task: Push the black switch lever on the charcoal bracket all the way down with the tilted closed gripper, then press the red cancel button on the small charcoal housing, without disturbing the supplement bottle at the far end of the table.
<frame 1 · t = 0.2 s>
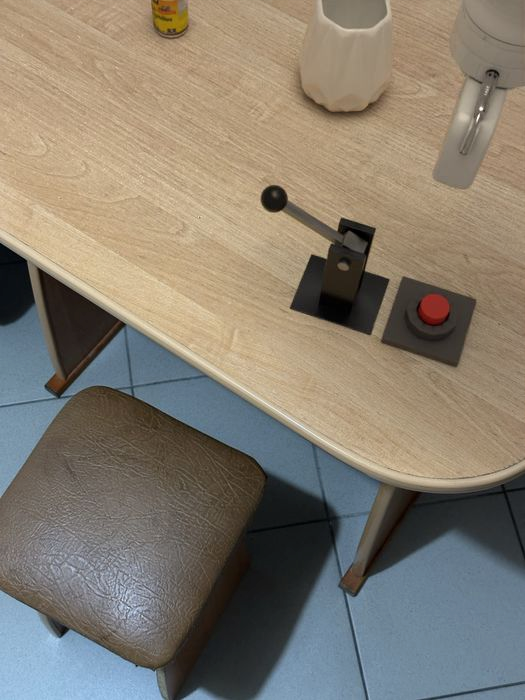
hand: (459, 143, 83), 32 cm above the table, tool pointing down, fingers open, 8 cm apart
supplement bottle: (171, 28, 133), on the table
switch bracket: (339, 298, 111), on the table
vase: (341, 87, 128), on the table
cancel button: (433, 309, 105), point 4 cm above the table, slide at 0.1 cm
switch lever: (312, 222, 99), point 14 cm above the table, hinge at 25.0°
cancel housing: (426, 326, 109), on the table
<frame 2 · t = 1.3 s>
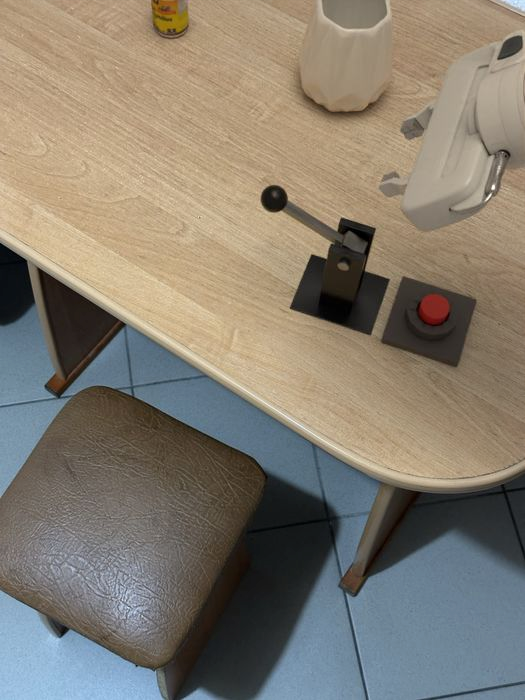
hand: (394, 157, 85), 29 cm above the table, tool tilted 45°, fingers open, 6 cm apart
nothing on the table moved.
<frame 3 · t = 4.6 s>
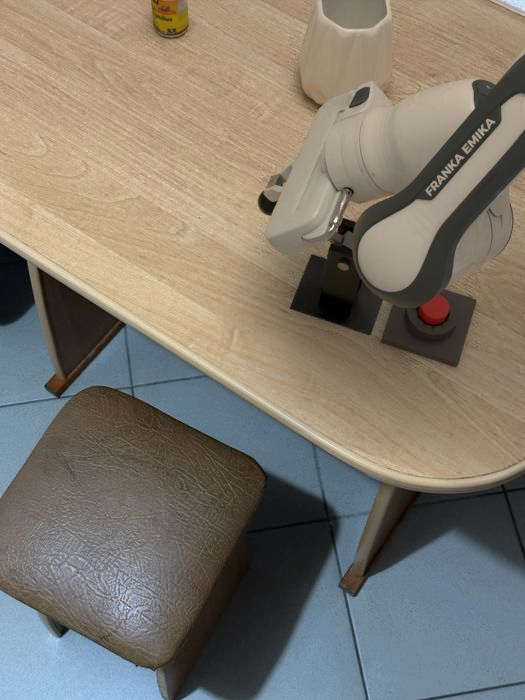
hand: (270, 188, 96), 18 cm above the table, tool tilted 45°, fingers closed
switch lever: (310, 224, 99), point 14 cm above the table, hinge at 20.7°, touching gripper
everything else where it was.
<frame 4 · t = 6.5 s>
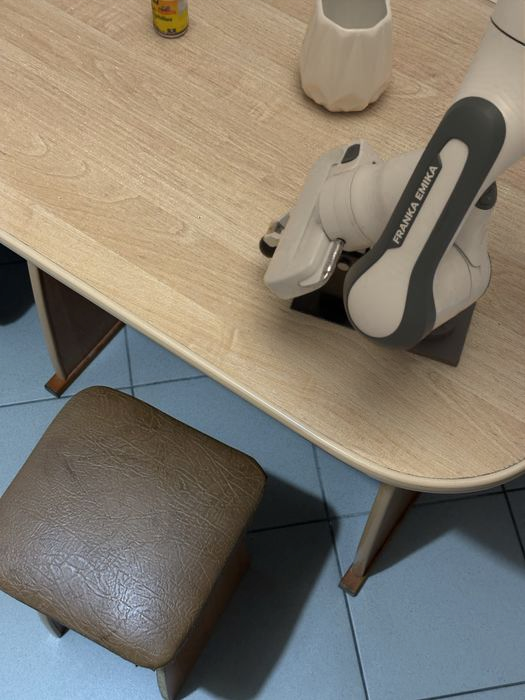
hand: (270, 234, 104), 9 cm above the table, tool tilted 45°, fingers closed, pressing on switch lever
switch lever: (309, 246, 103), point 10 cm above the table, hinge at -26.4°, touching gripper
everything else where it was.
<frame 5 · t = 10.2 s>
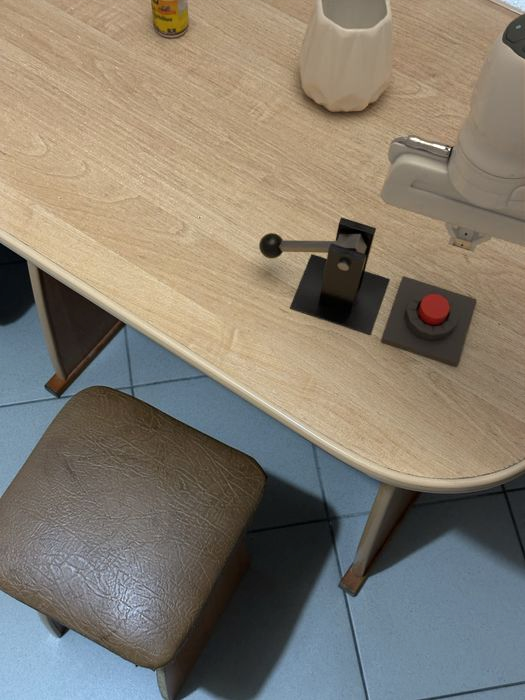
hand: (462, 243, 93), 19 cm above the table, tool pointing down, fingers closed
switch lever: (309, 246, 103), point 9 cm above the table, hinge at -26.8°
everything else where it was.
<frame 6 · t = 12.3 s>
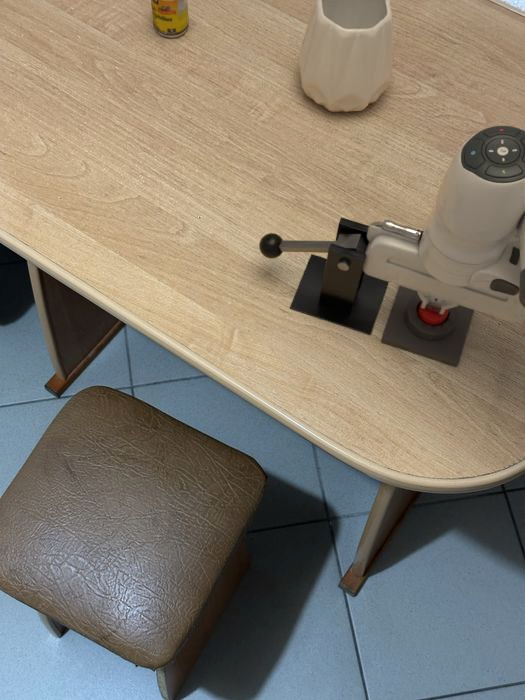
hand: (433, 306, 105), 5 cm above the table, tool pointing down, fingers closed, pressing on cancel button
cancel button: (433, 311, 106), point 4 cm above the table, slide at -0.3 cm, touching gripper
everything else where it was.
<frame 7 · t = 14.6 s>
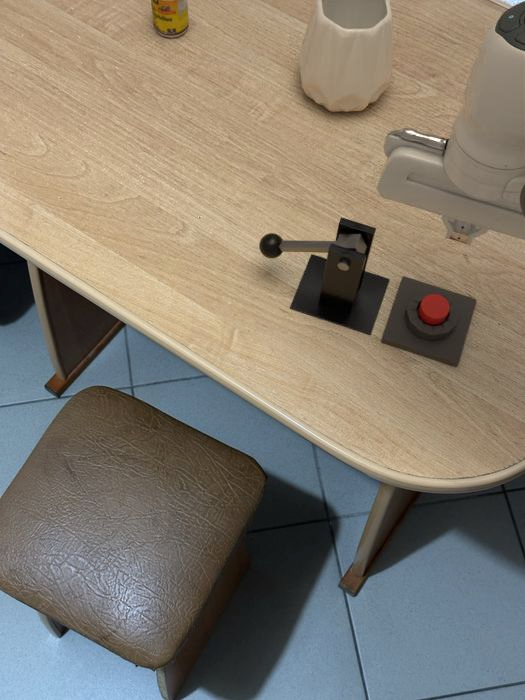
hand: (458, 236, 93), 19 cm above the table, tool pointing down, fingers closed
cancel button: (433, 309, 105), point 4 cm above the table, slide at 0.1 cm
everything else where it was.
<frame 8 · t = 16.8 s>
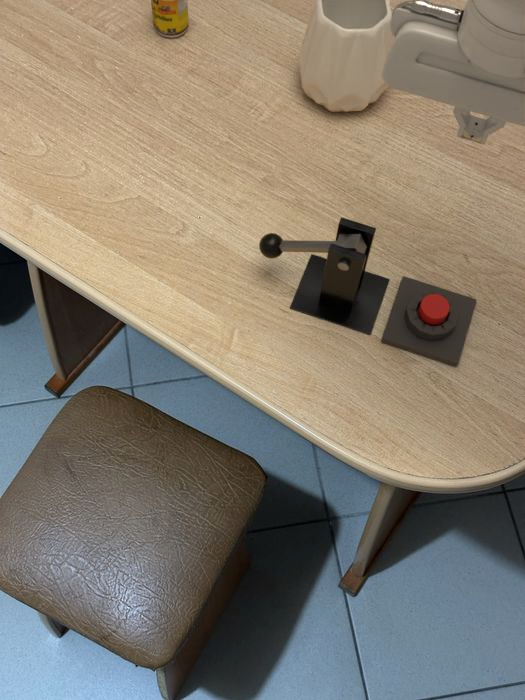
hand: (471, 136, 84), 31 cm above the table, tool pointing down, fingers closed
nothing on the table moved.
at the end: switch lever at -27° (first picture: +25°); cancel button pushed in 1.1 cm at the most during the clip, back to where it started at the end; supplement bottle moved 0.2 cm from its start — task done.
